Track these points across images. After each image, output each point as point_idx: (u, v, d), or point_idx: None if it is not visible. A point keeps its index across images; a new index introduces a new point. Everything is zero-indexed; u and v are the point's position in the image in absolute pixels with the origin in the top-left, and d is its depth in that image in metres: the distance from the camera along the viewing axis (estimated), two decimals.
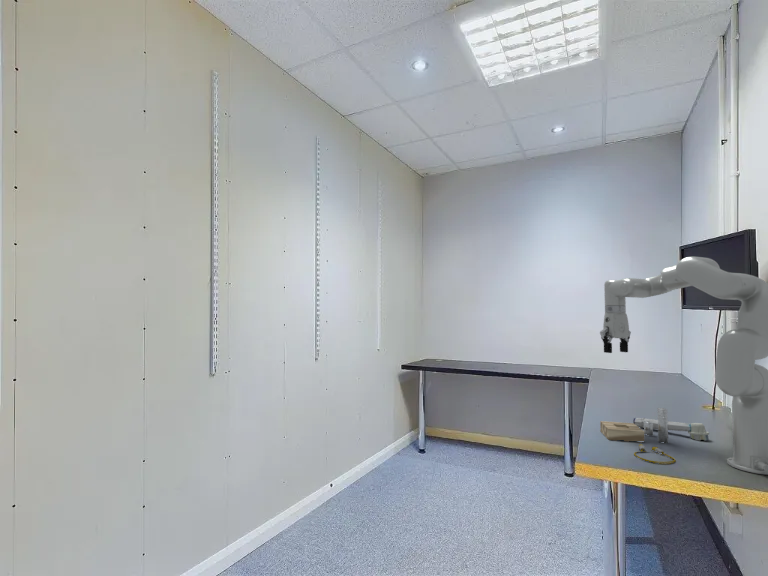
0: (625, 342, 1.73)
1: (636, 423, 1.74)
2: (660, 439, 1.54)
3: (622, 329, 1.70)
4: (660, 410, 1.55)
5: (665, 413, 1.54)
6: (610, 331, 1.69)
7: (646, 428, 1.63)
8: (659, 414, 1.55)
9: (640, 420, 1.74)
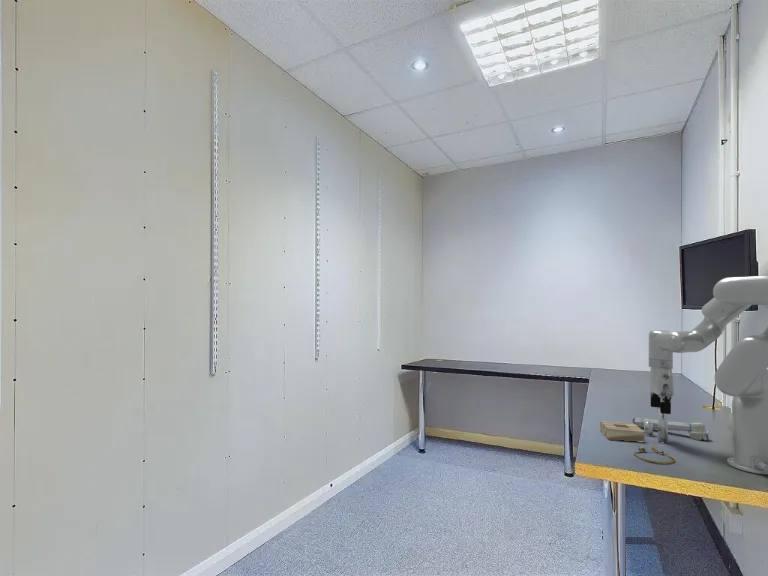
0: (658, 397, 1.61)
1: (636, 423, 1.74)
2: (660, 439, 1.54)
3: None
4: None
5: None
6: (670, 390, 1.51)
7: (646, 428, 1.63)
8: (659, 414, 1.55)
9: (640, 420, 1.74)
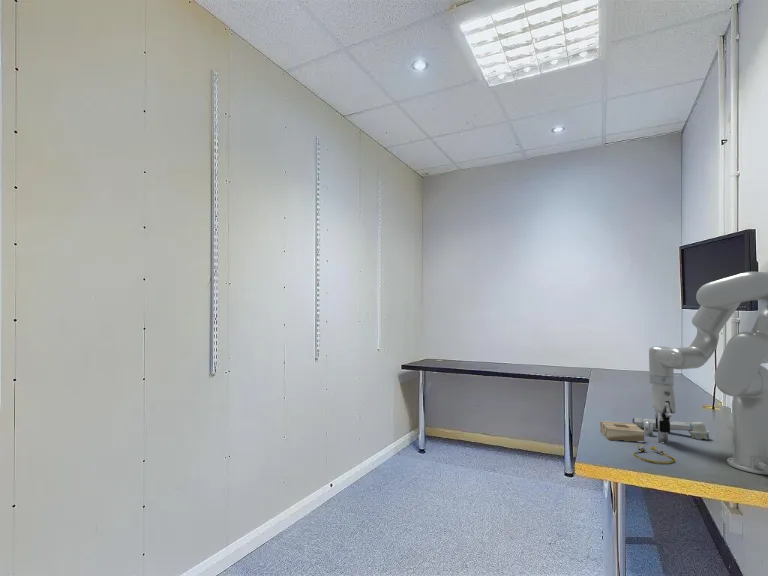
0: None
1: (635, 423, 1.74)
2: (660, 439, 1.54)
3: None
4: None
5: None
6: (671, 411, 1.51)
7: (646, 428, 1.63)
8: (659, 414, 1.55)
9: (639, 420, 1.73)
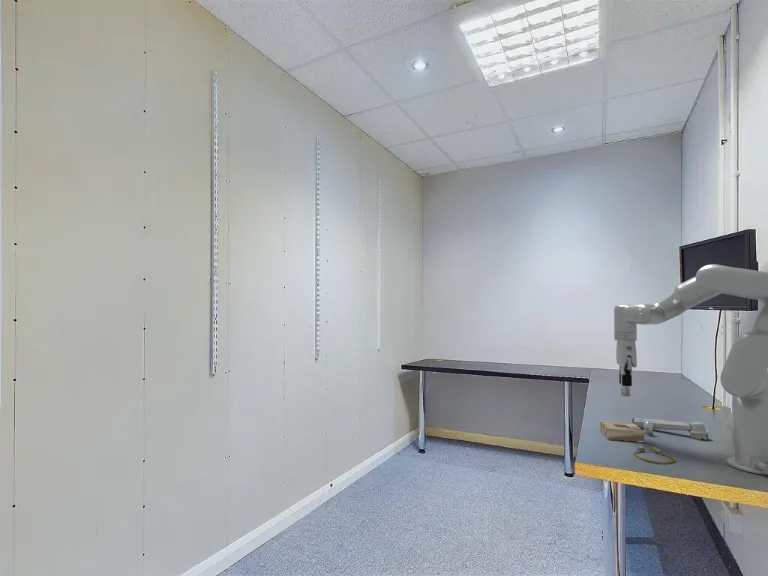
0: None
1: (635, 423, 1.74)
2: (622, 392, 1.61)
3: None
4: None
5: None
6: (633, 365, 1.57)
7: (646, 428, 1.63)
8: (622, 369, 1.61)
9: (639, 420, 1.74)
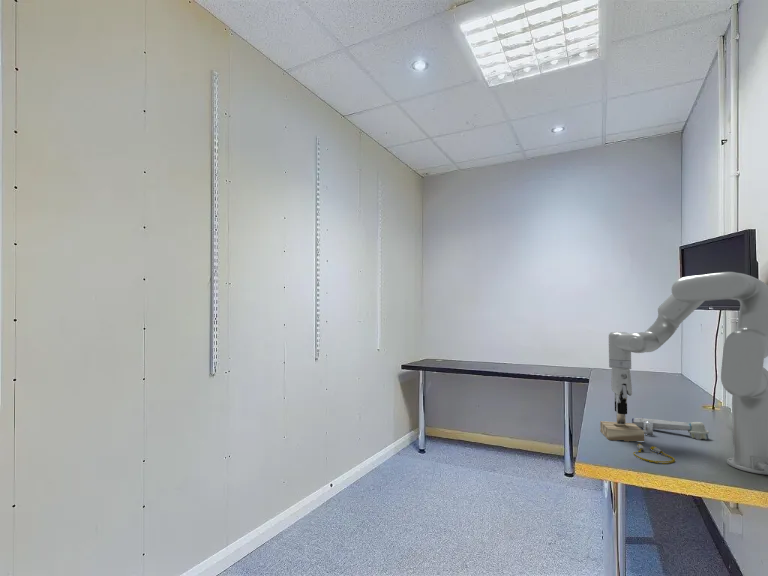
0: None
1: (635, 423, 1.74)
2: (618, 420, 1.61)
3: None
4: None
5: None
6: (628, 393, 1.57)
7: (646, 428, 1.63)
8: (617, 396, 1.61)
9: (639, 420, 1.74)
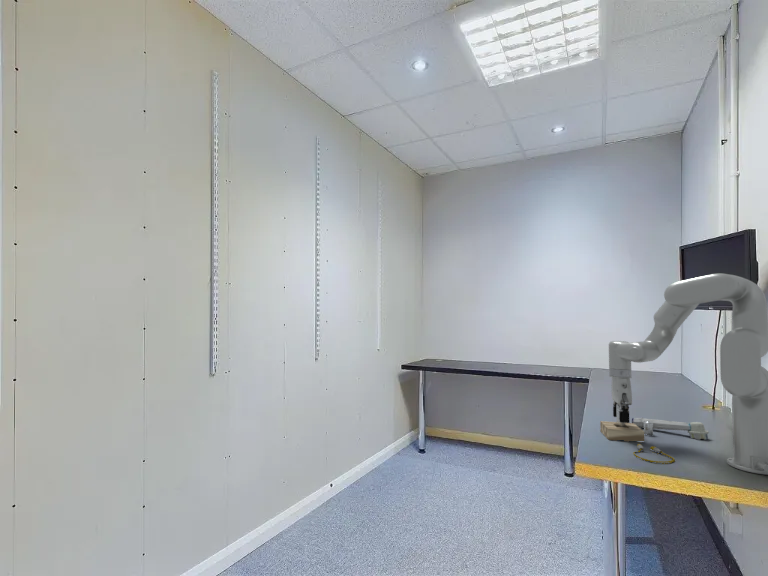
0: None
1: (635, 423, 1.74)
2: None
3: None
4: (618, 406, 1.61)
5: None
6: (628, 399, 1.57)
7: (646, 428, 1.63)
8: (617, 409, 1.61)
9: (639, 420, 1.74)
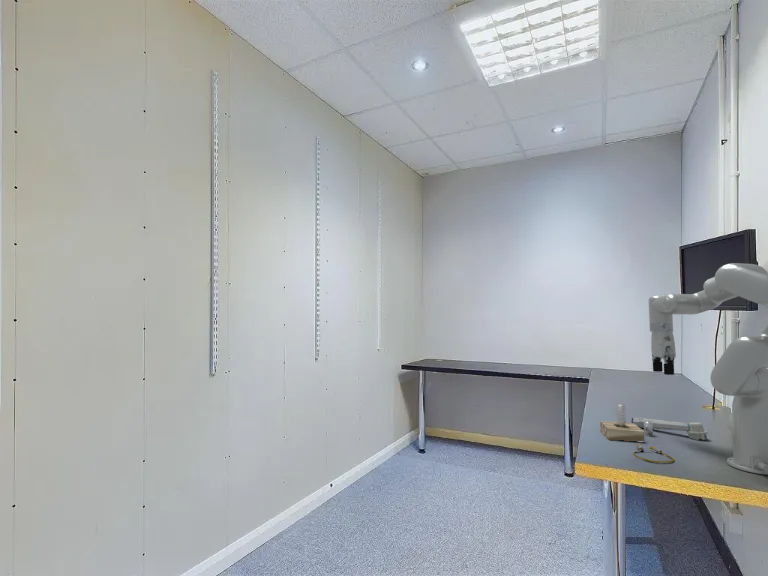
0: (660, 361, 1.65)
1: (634, 423, 1.75)
2: None
3: None
4: (618, 406, 1.61)
5: (623, 409, 1.60)
6: (672, 351, 1.56)
7: (646, 428, 1.63)
8: (618, 410, 1.61)
9: (638, 420, 1.74)
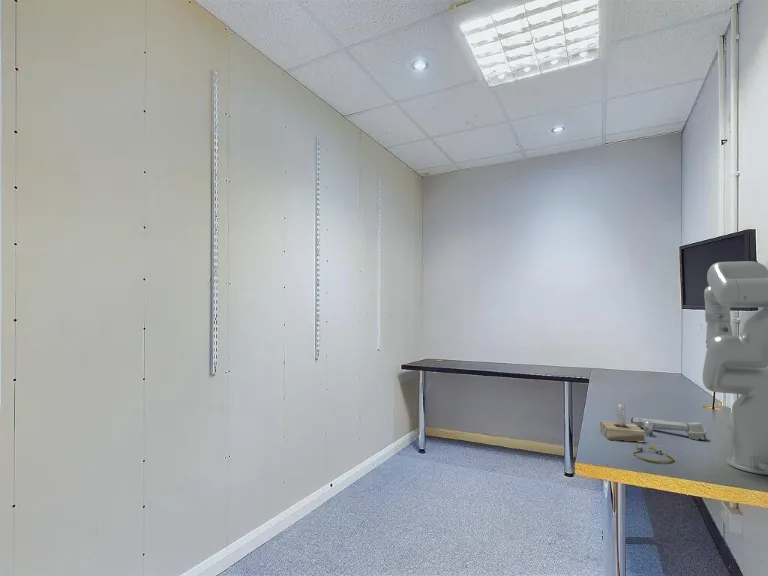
0: None
1: (634, 423, 1.75)
2: None
3: None
4: (618, 406, 1.61)
5: (623, 409, 1.60)
6: None
7: (646, 428, 1.63)
8: (617, 410, 1.61)
9: (638, 420, 1.74)
